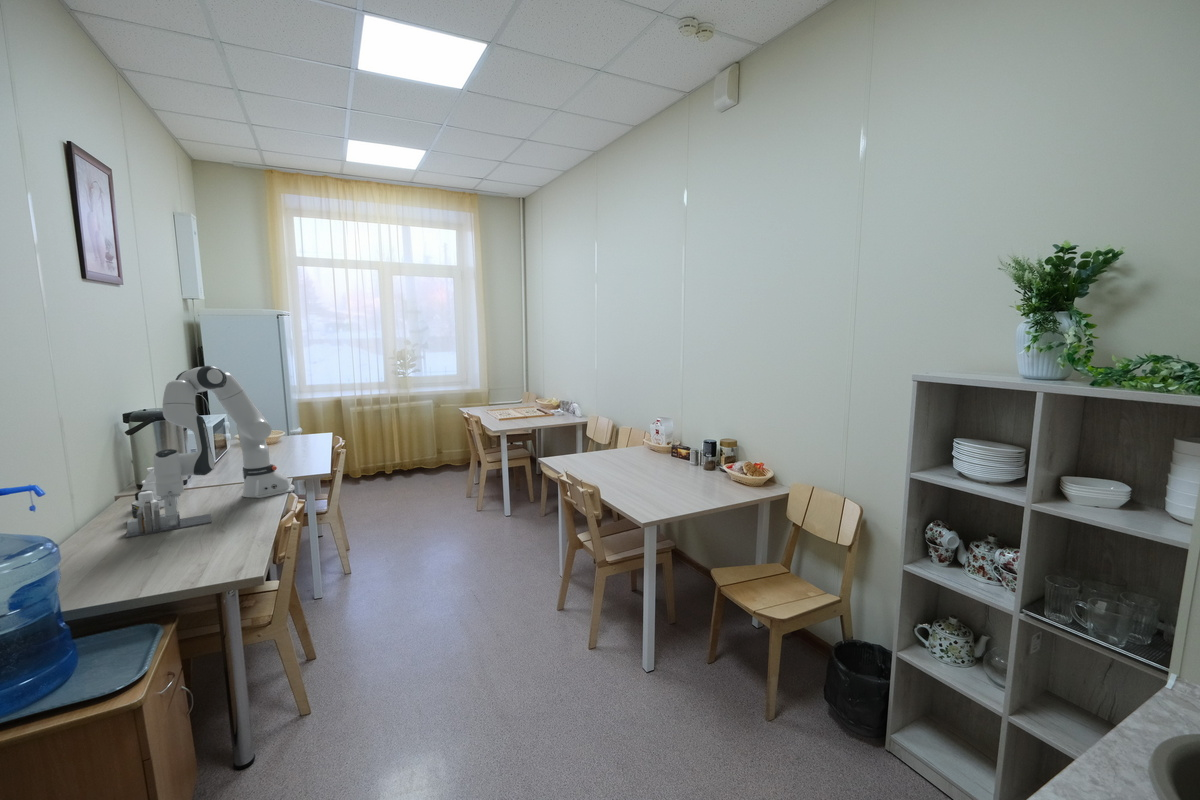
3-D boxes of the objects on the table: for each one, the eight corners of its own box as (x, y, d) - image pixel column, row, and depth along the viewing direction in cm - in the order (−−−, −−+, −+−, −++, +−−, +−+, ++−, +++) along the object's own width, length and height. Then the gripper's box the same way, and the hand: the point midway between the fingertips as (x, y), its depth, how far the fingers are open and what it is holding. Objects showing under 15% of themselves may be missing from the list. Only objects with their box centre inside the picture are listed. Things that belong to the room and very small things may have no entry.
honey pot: (159, 509, 234) (155, 470, 232) (132, 508, 234) (127, 470, 232) (183, 499, 247) (179, 463, 244) (157, 499, 247) (153, 463, 245)
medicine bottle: (132, 518, 222) (129, 492, 220) (153, 513, 228) (150, 487, 226) (140, 521, 218) (137, 494, 217) (160, 516, 225) (158, 490, 223)
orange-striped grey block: (180, 521, 218) (179, 511, 217) (179, 524, 214) (178, 514, 213) (129, 530, 208) (128, 519, 207) (128, 533, 204) (127, 522, 204)
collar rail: (210, 515, 227) (208, 490, 225) (211, 522, 218) (209, 497, 216) (128, 529, 210) (125, 502, 209) (125, 538, 201) (122, 510, 199)
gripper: (179, 493, 206) (182, 526, 208) (180, 481, 222) (183, 512, 224) (158, 496, 202) (162, 530, 204) (161, 484, 218) (164, 515, 220)
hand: (173, 520), depth 214 cm, fingers open, 8 cm apart
